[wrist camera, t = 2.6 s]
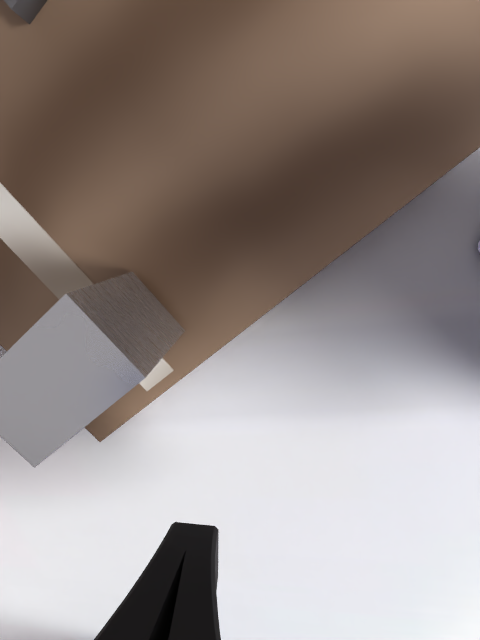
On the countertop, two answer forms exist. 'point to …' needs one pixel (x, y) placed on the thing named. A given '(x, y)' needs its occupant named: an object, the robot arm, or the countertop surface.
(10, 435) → the gray rectangular block
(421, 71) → the control panel
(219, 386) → the countertop surface
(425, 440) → the countertop surface
